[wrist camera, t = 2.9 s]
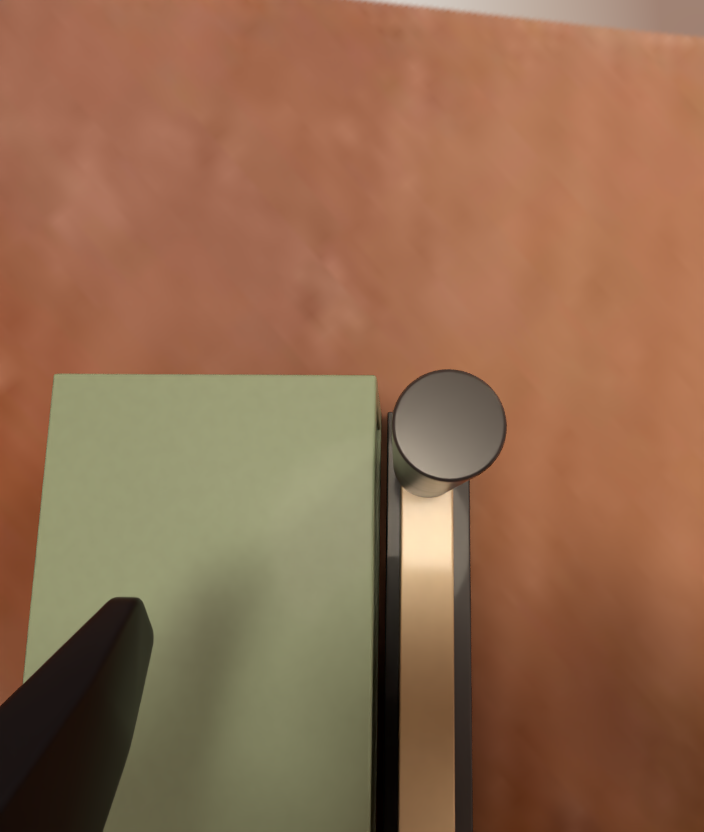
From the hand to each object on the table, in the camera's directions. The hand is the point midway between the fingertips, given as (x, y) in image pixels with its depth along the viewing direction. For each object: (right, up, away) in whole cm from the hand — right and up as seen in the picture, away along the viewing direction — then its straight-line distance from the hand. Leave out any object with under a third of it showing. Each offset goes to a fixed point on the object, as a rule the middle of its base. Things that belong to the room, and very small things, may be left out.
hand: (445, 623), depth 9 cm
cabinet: (-3, -7, +9) cm, 12 cm away
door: (+1, -4, +10) cm, 10 cm away
